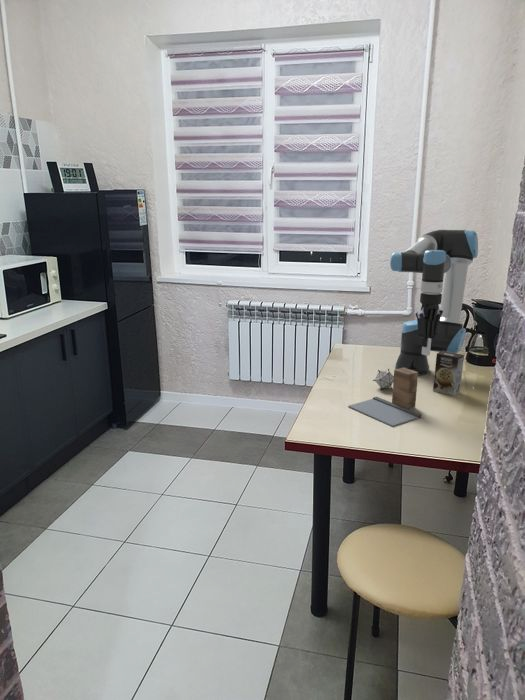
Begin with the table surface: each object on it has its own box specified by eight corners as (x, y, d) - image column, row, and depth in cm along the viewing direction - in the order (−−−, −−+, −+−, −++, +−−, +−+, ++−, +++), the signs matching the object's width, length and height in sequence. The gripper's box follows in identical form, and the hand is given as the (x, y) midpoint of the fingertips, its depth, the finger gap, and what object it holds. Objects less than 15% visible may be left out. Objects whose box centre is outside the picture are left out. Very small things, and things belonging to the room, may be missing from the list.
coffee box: (432, 391, 211) (435, 353, 207) (439, 387, 216) (442, 350, 211) (453, 396, 205) (458, 357, 201) (460, 392, 210) (464, 354, 205)
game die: (387, 397, 214) (397, 384, 206) (368, 389, 214) (377, 375, 207) (392, 382, 219) (401, 368, 212) (373, 374, 220) (382, 360, 212)
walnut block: (400, 401, 199) (403, 367, 195) (415, 407, 193) (418, 372, 190) (391, 404, 196) (394, 369, 193) (406, 410, 191) (409, 374, 187)
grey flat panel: (376, 398, 202) (376, 396, 202) (421, 417, 184) (421, 414, 184) (348, 406, 194) (348, 404, 194) (392, 426, 176) (392, 424, 176)
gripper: (428, 295, 183) (422, 359, 189) (451, 292, 190) (444, 354, 196) (411, 292, 189) (406, 354, 195) (434, 290, 196) (428, 350, 202)
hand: (425, 354), depth 195 cm, fingers closed
